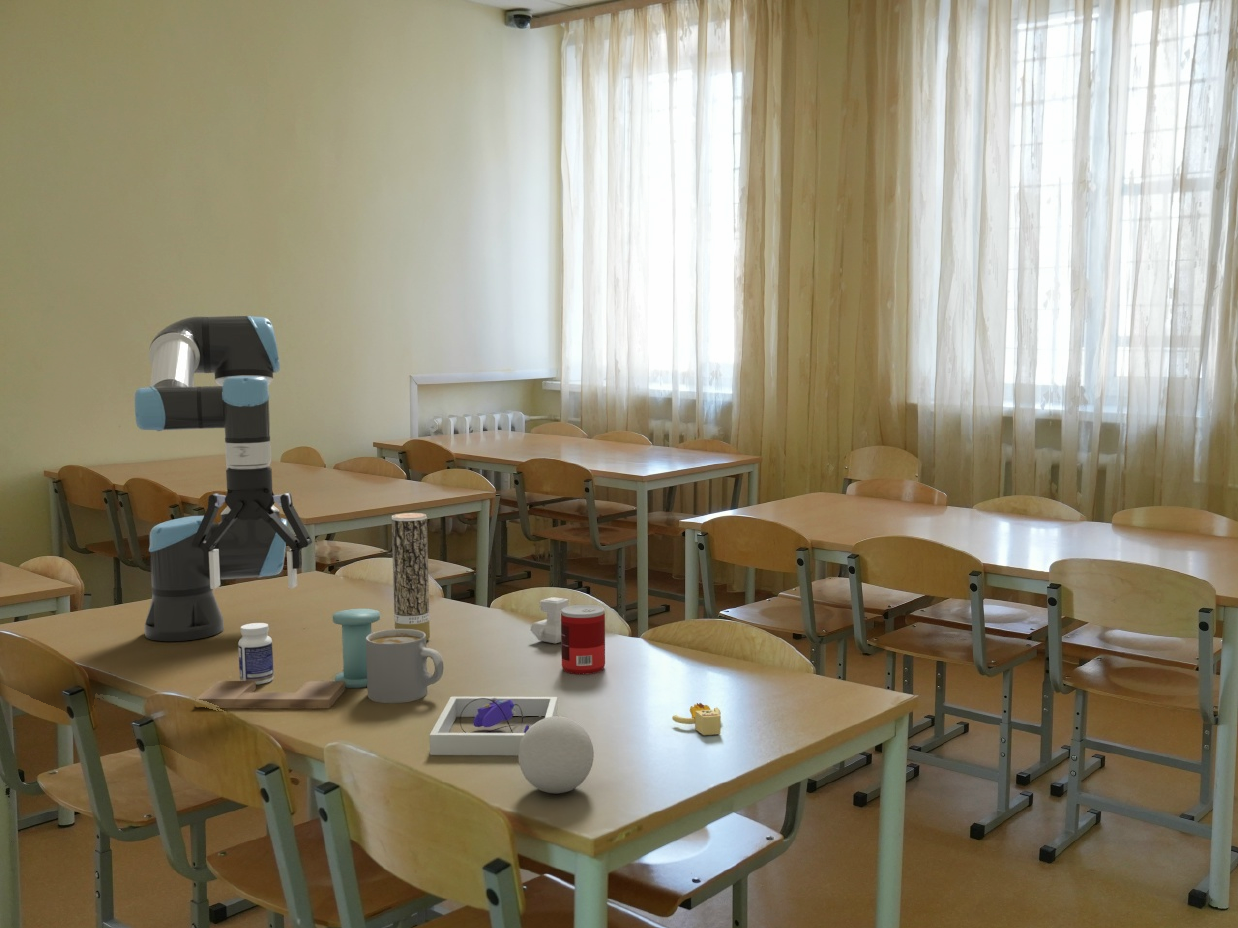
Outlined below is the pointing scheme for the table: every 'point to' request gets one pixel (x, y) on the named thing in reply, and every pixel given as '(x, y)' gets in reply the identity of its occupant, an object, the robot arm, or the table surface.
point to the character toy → (703, 719)
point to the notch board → (273, 695)
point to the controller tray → (484, 742)
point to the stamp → (550, 620)
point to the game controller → (495, 714)
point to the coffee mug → (399, 665)
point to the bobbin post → (355, 644)
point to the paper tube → (410, 572)
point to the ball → (556, 754)
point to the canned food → (583, 639)
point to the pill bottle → (255, 654)
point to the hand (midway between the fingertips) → (254, 587)
